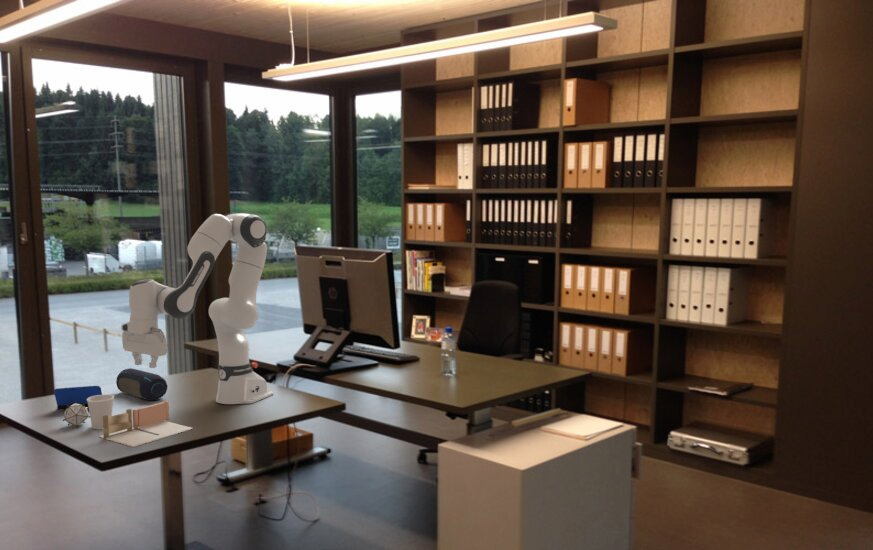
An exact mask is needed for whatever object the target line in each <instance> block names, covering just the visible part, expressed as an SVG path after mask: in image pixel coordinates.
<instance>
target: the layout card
mask: <svg viewBox="0 0 873 550" xmlns="http://www.w3.org/2000/svg"><path fill="white" fill-rule="evenodd" d="M193 428H194V427H191V426H186V425H181V424H179V423H174V422H171V421H168V420H163V421H160V422H156V423H153V424H149V425H146V426H142V427H138V428H133V426H132V431H127V429H125V430H121V431H118V432H114V433H111V434H109V437H108V438H106V439H105V440H108V441H110V440H111V442H115V443H117V444H120V443H121V445H124V446H128V447H131V448H136V447H140V446H143V445H146V444H149V443H152V441H153V442H155V441H159V440H162V439H165V438H168V437H172V436H175V435H179V434H182V433H185V432H188V431H191V429H192V430H193ZM181 432H182V433H181ZM178 433H179V434H178ZM100 437H101V439H104V436H103V434H102V435H99V438H100ZM145 443H146V444H145ZM139 445H140V446H139Z"/></svg>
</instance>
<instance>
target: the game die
mask: <svg viewBox="0 0 873 550" xmlns="http://www.w3.org/2000/svg"><path fill="white" fill-rule="evenodd" d="M84 404H85V403H83V405H82V404H78V403H76V401H75V404H73V405H71V406H69V405H67V407H68V408H67V409H64V410H65V411H64V410H61V412H62V414H64V418H63V419H62V421H61V422H64V421H65V422H67V423H68V424H67V426H68V427H69V426H70V425H72V426H75V427H76V429H78V428H79V425H82V424H84V423H85V424H86V420H87V419H91V418H90V415H89V412H88V411H89V408H86V407H85V406H84Z"/></svg>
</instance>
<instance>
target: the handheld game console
mask: <svg viewBox="0 0 873 550" xmlns="http://www.w3.org/2000/svg"><path fill="white" fill-rule="evenodd" d="M53 394H54V398H55V401H56V406H57V407H56V408H57V410H58V411H61V410H60V409H63V410H66V409H67V408H68V407H67V405H69V406H71V405H73V404H75V401H76V403H78V404H82V405H83V403H85V404H84V406H85V407H88V401H87V398H89V397H92V396H96V395H103V393H102V388H101V386H99V385H88V386H75V387H74V386H73V387H60V388H55V389H54V390H53Z"/></svg>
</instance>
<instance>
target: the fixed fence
mask: <svg viewBox="0 0 873 550" xmlns="http://www.w3.org/2000/svg"><path fill="white" fill-rule="evenodd" d="M132 410H133V409H132V408H128V409H126V410H125V411H126V412H121V413H118V414H115V415H112V416H111V417H108V415H104V416H103V429H102V432H103V434H102V435H103V436H104V438H103V439H104V440H107V439H106V438H108V437H109V434H111V433H114V432H118V431H121V430H125V429H127V431H132V427H133V413H132Z"/></svg>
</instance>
